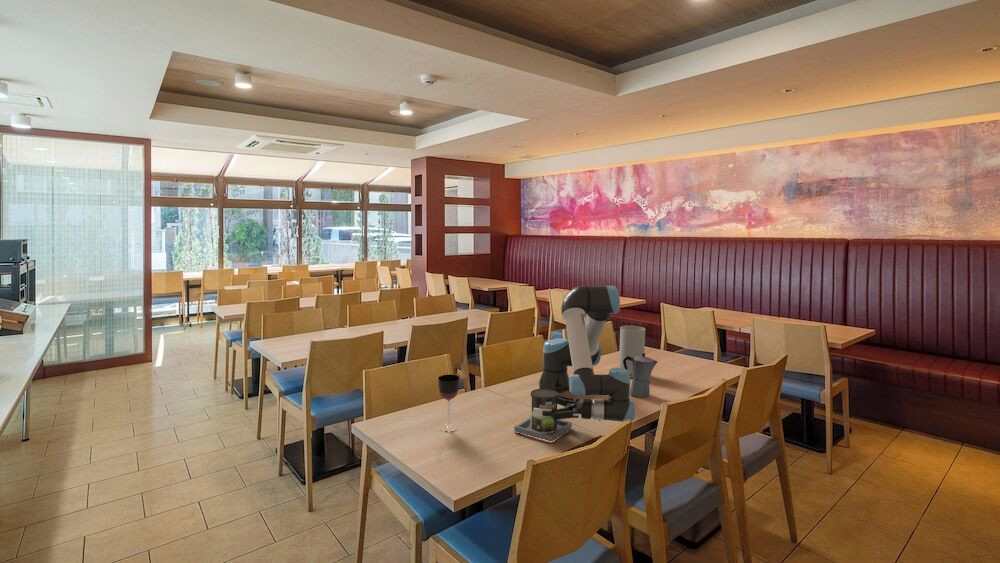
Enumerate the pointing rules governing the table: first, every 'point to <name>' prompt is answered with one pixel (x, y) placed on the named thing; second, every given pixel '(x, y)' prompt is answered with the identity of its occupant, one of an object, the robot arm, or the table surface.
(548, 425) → the coffee can
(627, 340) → the cylinder vase
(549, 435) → the slate tray
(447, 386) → the wineglass
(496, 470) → the table surface
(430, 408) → the table surface
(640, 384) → the moka pot
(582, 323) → the robot arm
